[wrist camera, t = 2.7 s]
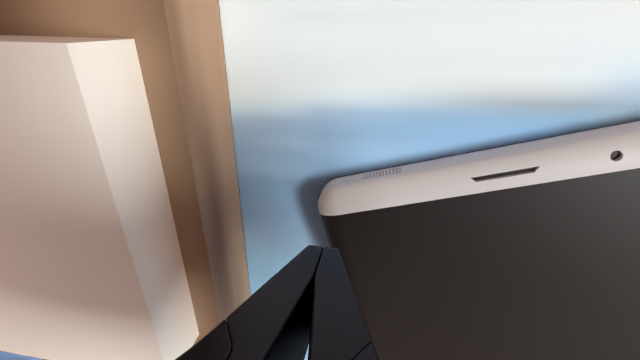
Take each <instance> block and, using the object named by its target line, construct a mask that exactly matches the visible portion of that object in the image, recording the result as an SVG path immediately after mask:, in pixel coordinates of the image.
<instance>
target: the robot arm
mask: <svg viewBox="0 0 640 360" xmlns="http://www.w3.org/2000/svg"><path fill="white" fill-rule="evenodd" d="M308 344H309V353H308V360H379V358H378V355H377V352H376V350H375V347H374V344H373V343H372V339H371V336H370V334H369V331H368V328H367V326H366V323H365V320H364V317H363V315H362V312H361V309H360V306H359V304H358V301H357V298H356V296H355V293H354V290H353V287H352V285H351V282H350V279H349V277H348V274H347V271H346V268H345V266H344V263H343V260H342V257H341V255H340V252H339V250H338V249H337V248H330V247H325V248H323V247H321V246H313V245H309V246H307V247H306V248H305V249H304V250H303V251H301V252H300V253H299V254H298V255H297V256H296V257H295V258H294V259H292V260H291V261H290V262H289V263H288V264H287V265H286V266H284V267H283V268H282V269H281V270H280V271H279V272H278V273H277V274H275V275H274V276H273V277H272V278H271V279H270V280H269V281H267V282H266V283H265V284H264V285H263V286H262V287H261V288H259V289H258V290H257V291H256V292H255V293H254V294H253V295H252V296H250V297H249V298H248V299H247V300H246V301H245V302H244V303H242V304H241V305H240V306H239V307H238V308H237V309H236V310H235V311H233V312H232V313H231V314H230V315H229V316H228V317H227V318H226V320H223V321H222V322H221V323H220V324H218V325H217V326H216V327H215V328H214V329H213V330H212V331H210V332H209V333H208V334H207V335H206V336H204V337H203V338H202V339H201V340H200V341H198V342H197V343H196V344H195V345H194V346H192V347H191V348H190V349H188V350H187V351H186V352H184V353H183V354H182V355H180V356H179V357H178V358H176V359H175V360H304V358H305V354H306V351H307V348H308Z"/></svg>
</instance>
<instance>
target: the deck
mask: <svg viewBox="0 0 640 360" xmlns="http://www.w3.org/2000/svg"><path fill="white" fill-rule="evenodd" d="M0 35H16V36H53V37H89V38H125V39H134V41H135V45H136V50H137V54H138V59H139V63H140V68H141V72H142V77H143V82H144V86H145V91H146V95H147V100H148V104H149V109H150V113H151V118H152V122H153V127H154V132H155V136H156V141H157V145H158V150H159V154H160V159H161V163H162V168H163V172H164V177H165V181H166V186H167V191H168V195H169V200H170V204H171V209H172V213H173V218H174V222H175V227H176V231H177V236H178V240H179V245H180V250H181V254H182V259H183V263H184V268H185V272H186V277H187V281H188V286H189V290H190V295H191V300H192V304H193V309H194V313H195V318H196V322H197V327H198V331H199V336H198V337H197V339H196V341H195V342H194V344H193V346H194V345H195V344H196V343H197V342H198V341H200V340H201V339H202V338H203V337H204V336H206V335H207V334H208V333H209V332H210V331H212V330H213V329H214V328H215V327H216V326H217V325H218V324H220V323H221V322H222V321H223V320H226V318H227V317H228V316H229V315H230V314H231V313H232V312H233V311H235V310H236V309H237V308H238V307H239V306H240V305H241V304H242V303H244V302H245V301H246V300H247V299H248V298H249V297H250V296H251V295H250V286H249V277H248V267H247V258H246V249H245V240H244V231H243V221H242V212H241V203H240V194H239V184H238V175H237V166H236V157H235V148H234V138H233V129H232V120H231V111H230V102H229V92H228V83H227V74H226V65H225V55H224V46H223V37H222V28H221V19H220V9H219V0H0ZM43 360H47V359H43Z"/></svg>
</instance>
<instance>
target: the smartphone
mask: <svg viewBox="0 0 640 360" xmlns="http://www.w3.org/2000/svg"><path fill="white" fill-rule="evenodd" d="M318 211H319V214H320V217H321V220H322V223H323V226H324V229H325V232H326V236H327V239H328V242H329V245H330V248H337V249H338V250H339V252H340V255H341V257H342V260H343V263H344V266H345V268H346V271H347V274H348V277H349V279H350V282H351V285H352V287H353V290H354V293H355V296H356V298H357V301H358V304H359V306H360V309H361V312H362V315H363V317H364V320H365V323H366V326H367V328H368V331H369V334H370V336H371V339H372V343H373V344H374V347H375V350H376V352H377V355H378V358H379V360H640V121H636V122H630V123H625V124H620V125H614V126H609V127H604V128H599V129H593V130H588V131H583V132H577V133H572V134H567V135H562V136H556V137H551V138H546V139H540V140H535V141H530V142H524V143H519V144H514V145H509V146H503V147H498V148H493V149H487V150H482V151H477V152H472V153H466V154H461V155H456V156H450V157H445V158H440V159H435V160H429V161H424V162H419V163H413V164H408V165H403V166H397V167H392V168H387V169H382V170H376V171H371V172H366V173H360V174H355V175H350V176H345V177H339V178H336V179H333V180H331V181H330V182H328V183H327V184H326V185H325V186H324V188H323V190H322V192H321V195H320V198H319V201H318Z"/></svg>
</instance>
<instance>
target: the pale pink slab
mask: <svg viewBox="0 0 640 360" xmlns="http://www.w3.org/2000/svg"><path fill="white" fill-rule="evenodd" d="M198 336H199V331H198V327H197V322H196V318H195V313H194V309H193V304H192V300H191V295H190V290H189V286H188V281H187V277H186V272H185V268H184V263H183V259H182V254H181V250H180V245H179V240H178V236H177V231H176V227H175V222H174V218H173V213H172V209H171V204H170V200H169V195H168V191H167V186H166V181H165V177H164V172H163V168H162V163H161V159H160V154H159V150H158V145H157V141H156V136H155V132H154V127H153V122H152V118H151V113H150V109H149V104H148V100H147V95H146V91H145V86H144V82H143V77H142V72H141V68H140V63H139V59H138V54H137V50H136V45H135V41H134V39H125V38H89V37H53V36H16V35H0V351H5V352H10V353H15V354H21V355H26V356H31V357H36V358H41V359H47V360H175V359H176V358H178V357H179V356H180V355H182V354H183V353H184V352H186V351H187V350H188V349H190V348H191V347H192V346H193V344H194V342H195V341H196V339H197V337H198Z"/></svg>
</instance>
